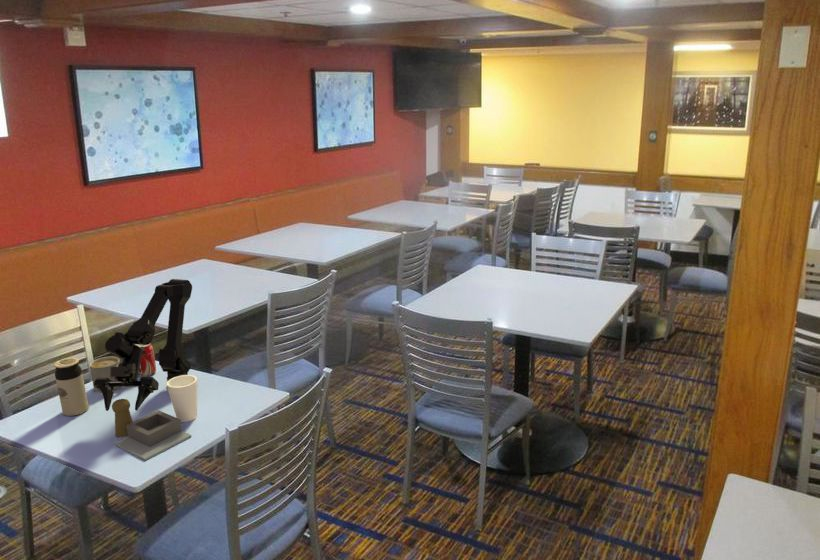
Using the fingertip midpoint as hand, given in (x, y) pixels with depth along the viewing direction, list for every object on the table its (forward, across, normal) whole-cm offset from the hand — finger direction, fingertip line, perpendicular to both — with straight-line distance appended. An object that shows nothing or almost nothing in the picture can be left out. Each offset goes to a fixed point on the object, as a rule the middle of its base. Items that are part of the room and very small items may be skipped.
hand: (121, 410), depth 208 cm
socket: (+9, +11, +2) cm, 15 cm away
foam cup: (-1, +17, +12) cm, 21 cm away
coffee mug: (-18, -19, +29) cm, 38 cm away
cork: (+6, 0, +6) cm, 8 cm away
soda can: (-26, -11, +37) cm, 46 cm away
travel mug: (-5, -24, +16) cm, 29 cm away
